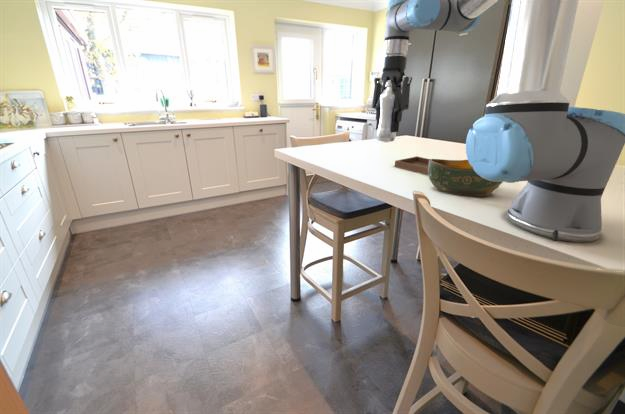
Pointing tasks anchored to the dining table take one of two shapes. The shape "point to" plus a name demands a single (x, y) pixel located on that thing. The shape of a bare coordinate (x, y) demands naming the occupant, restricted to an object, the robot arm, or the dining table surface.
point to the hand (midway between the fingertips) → (386, 130)
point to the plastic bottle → (386, 114)
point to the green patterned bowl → (459, 178)
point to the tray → (414, 164)
